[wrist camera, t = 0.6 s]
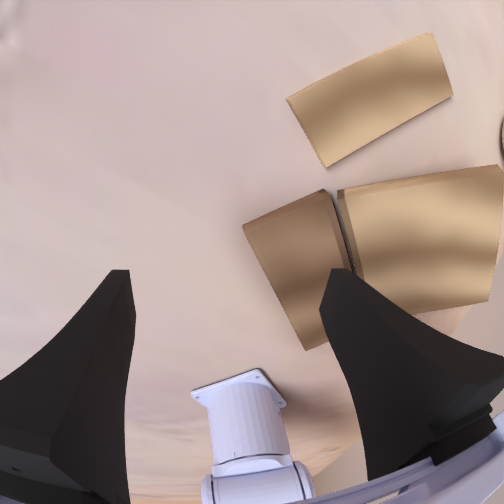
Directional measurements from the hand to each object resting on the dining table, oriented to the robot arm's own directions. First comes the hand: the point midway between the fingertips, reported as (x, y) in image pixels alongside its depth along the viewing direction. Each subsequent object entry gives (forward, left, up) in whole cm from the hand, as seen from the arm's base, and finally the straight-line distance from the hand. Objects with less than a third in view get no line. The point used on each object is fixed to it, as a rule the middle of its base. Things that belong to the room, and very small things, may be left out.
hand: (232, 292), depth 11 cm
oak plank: (-10, -13, -7) cm, 18 cm away
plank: (+2, -13, -10) cm, 16 cm away
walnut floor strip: (-10, -4, -10) cm, 15 cm away
